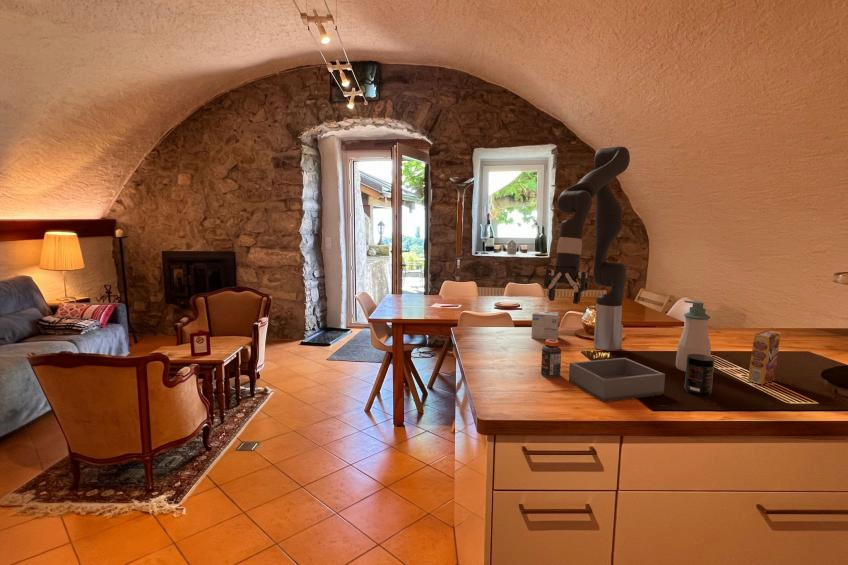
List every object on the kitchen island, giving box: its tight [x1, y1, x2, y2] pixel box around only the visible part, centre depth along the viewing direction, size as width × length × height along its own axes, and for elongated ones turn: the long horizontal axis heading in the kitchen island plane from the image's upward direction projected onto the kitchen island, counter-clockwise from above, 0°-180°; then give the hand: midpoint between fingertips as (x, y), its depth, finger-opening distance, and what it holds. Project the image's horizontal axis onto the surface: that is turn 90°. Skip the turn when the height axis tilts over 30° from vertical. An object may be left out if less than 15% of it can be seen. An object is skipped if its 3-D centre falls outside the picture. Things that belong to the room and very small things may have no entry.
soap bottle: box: [675, 300, 712, 373], centre depth 146 cm, size 10×10×23 cm
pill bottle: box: [540, 339, 562, 379], centre depth 141 cm, size 6×6×11 cm
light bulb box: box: [530, 310, 560, 340], centre depth 188 cm, size 11×7×11 cm, turn 71°
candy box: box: [747, 330, 782, 386], centre depth 136 cm, size 9×4×15 cm, turn 123°
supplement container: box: [683, 354, 716, 397], centre depth 127 cm, size 7×7×10 cm
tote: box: [568, 357, 666, 403], centre depth 130 cm, size 20×16×6 cm
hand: (563, 302), depth 145 cm, fingers open, 8 cm apart
